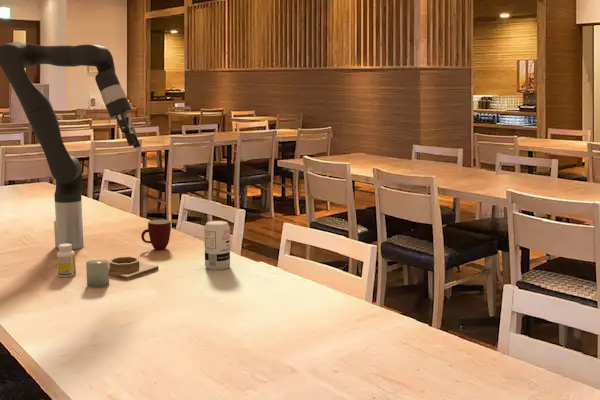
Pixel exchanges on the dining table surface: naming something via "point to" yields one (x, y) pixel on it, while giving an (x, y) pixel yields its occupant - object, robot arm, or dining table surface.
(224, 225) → the supplement can
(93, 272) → the sage green domed cylinder
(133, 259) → the caddy
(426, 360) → the dining table surface
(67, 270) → the supplement bottle
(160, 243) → the mug
